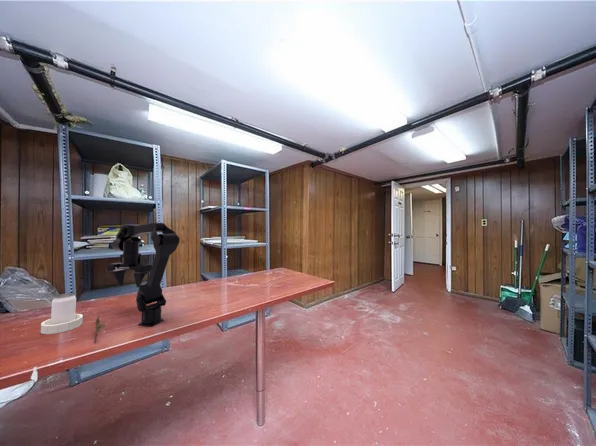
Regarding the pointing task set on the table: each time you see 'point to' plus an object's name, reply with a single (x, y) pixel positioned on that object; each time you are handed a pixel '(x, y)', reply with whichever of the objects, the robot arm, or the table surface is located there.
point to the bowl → (61, 325)
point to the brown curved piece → (98, 326)
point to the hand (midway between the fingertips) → (129, 286)
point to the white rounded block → (63, 308)
